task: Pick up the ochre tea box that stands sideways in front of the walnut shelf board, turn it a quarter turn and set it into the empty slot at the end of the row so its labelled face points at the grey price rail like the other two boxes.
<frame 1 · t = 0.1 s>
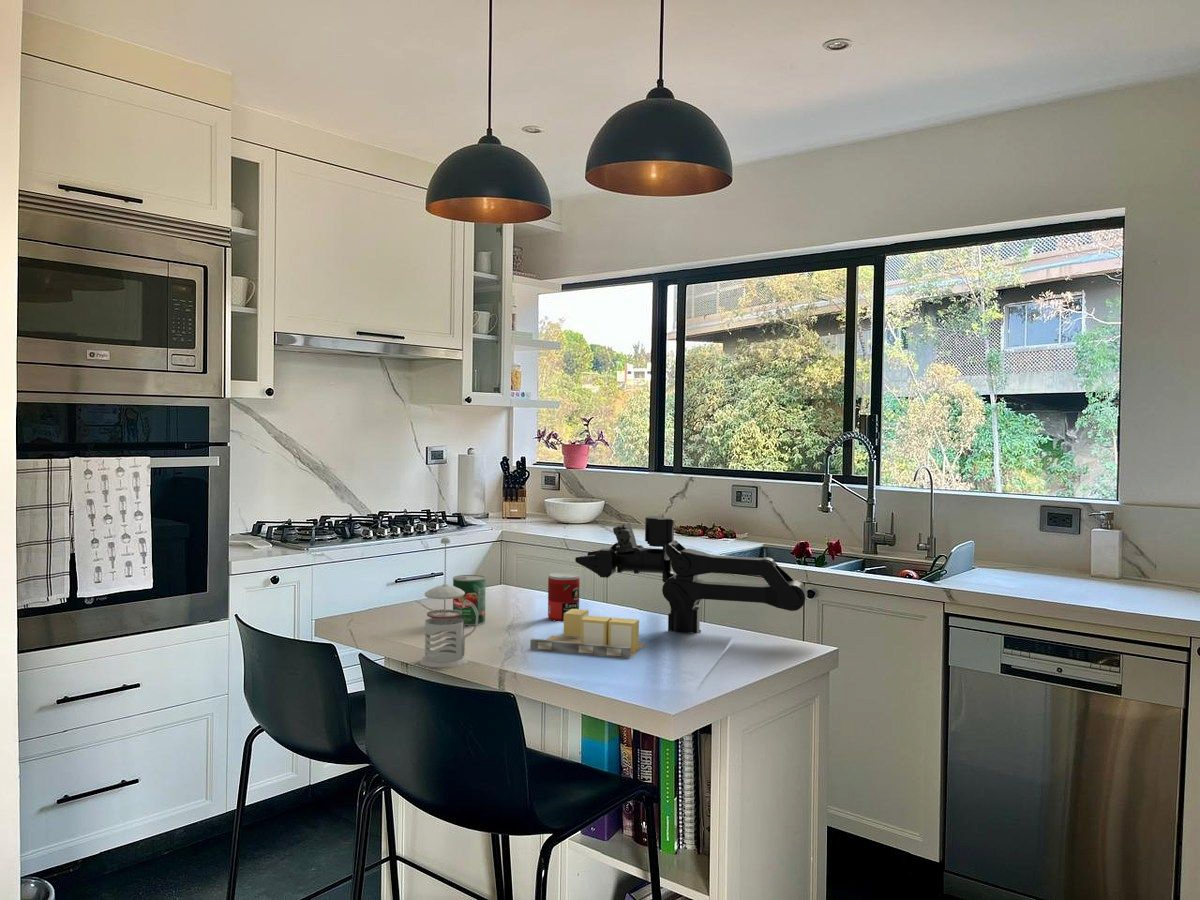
hand: (581, 556, 212), 17 cm above the table, tool horizontal, fingers open, 9 cm apart
french press: (448, 662, 178), on the table
shelf board: (588, 651, 188), on the table
canned tomato: (468, 623, 214), on the table
canned food: (563, 619, 220), on the table
tea box a: (623, 648, 186), point 1 cm above the table, touching shelf board
tea box b: (596, 646, 188), point 1 cm above the table, touching shelf board
tea box turned: (575, 638, 200), on the table
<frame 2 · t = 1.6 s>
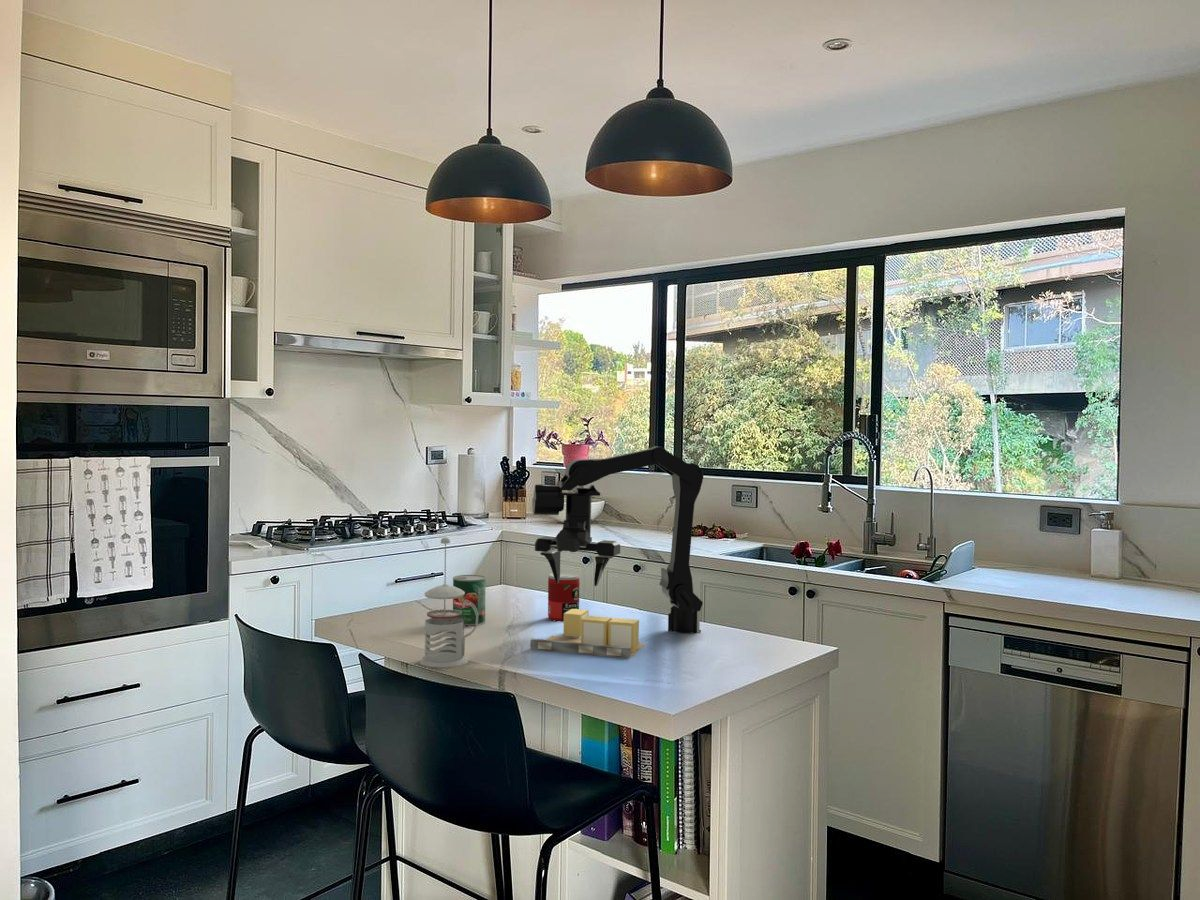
hand: (576, 584, 200), 12 cm above the table, tool pointing down, fingers open, 9 cm apart
nothing on the table moved.
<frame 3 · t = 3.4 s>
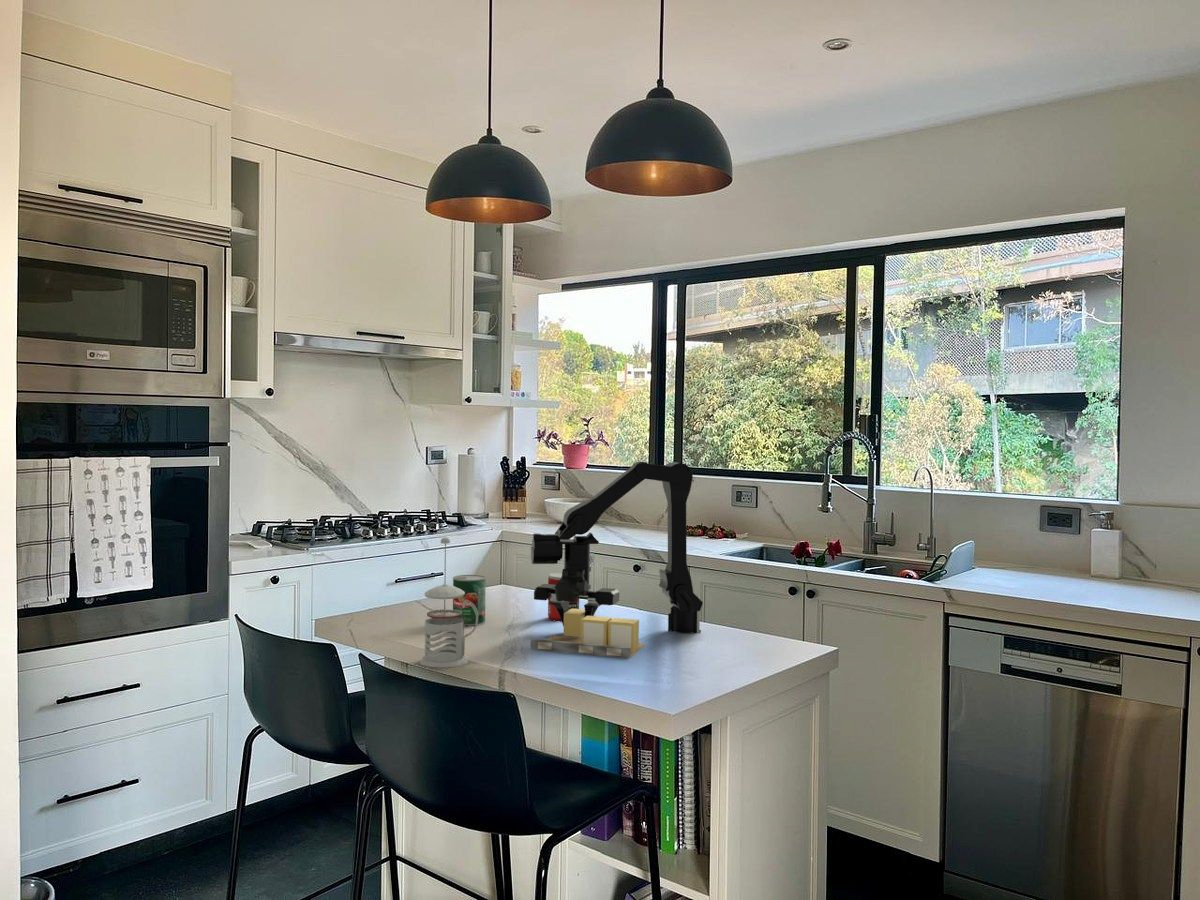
hand: (576, 632, 200), 1 cm above the table, tool pointing down, fingers closed on tea box turned, 4 cm apart
tea box turned: (576, 637, 200), on the table, touching gripper
everything else where it was.
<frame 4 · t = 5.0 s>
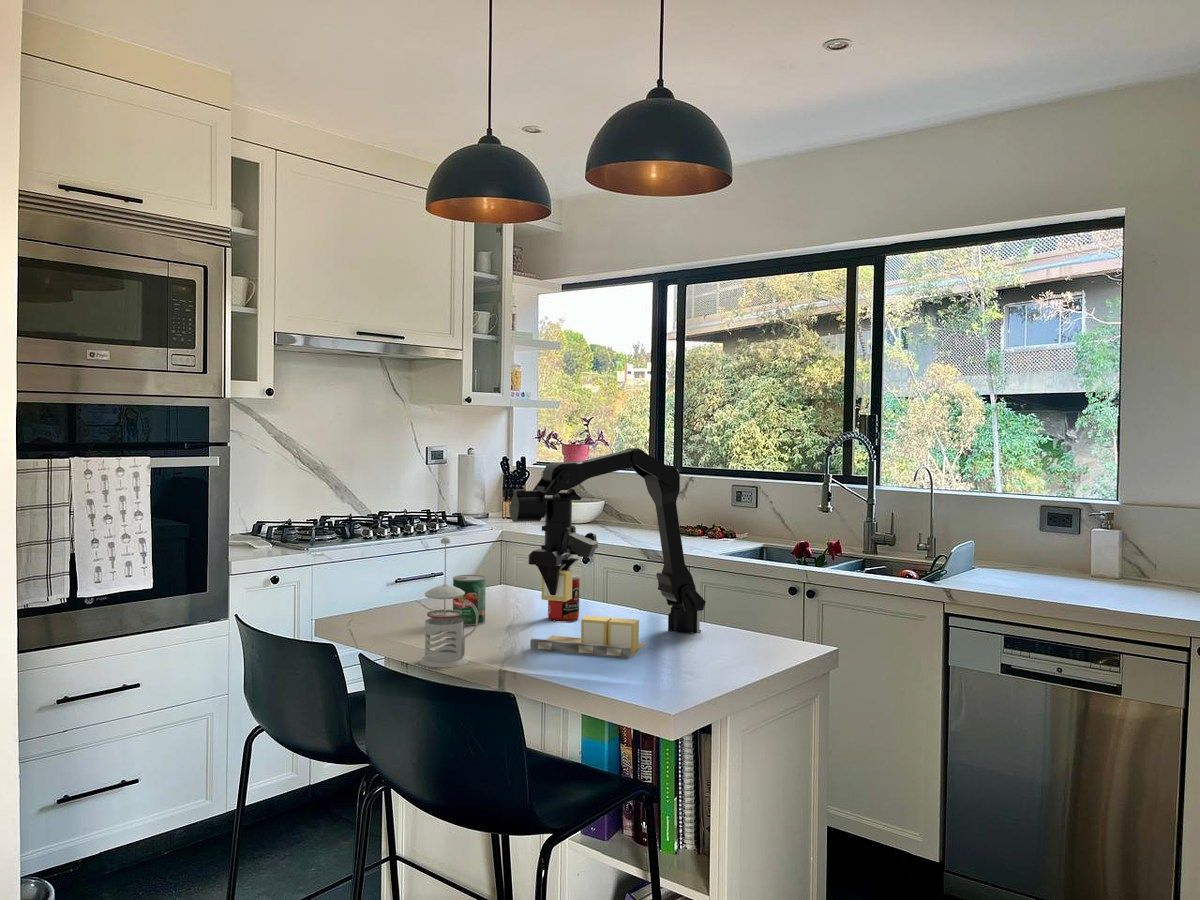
hand: (556, 593, 191), 12 cm above the table, tool pointing down, fingers closed on tea box turned, 4 cm apart
tea box turned: (556, 599, 191), point 10 cm above the table, touching gripper
everything else where it was.
when the fingers open (4 cm above the table, at t = 6.6 s): tea box turned drops 2 cm, resting on shelf board.
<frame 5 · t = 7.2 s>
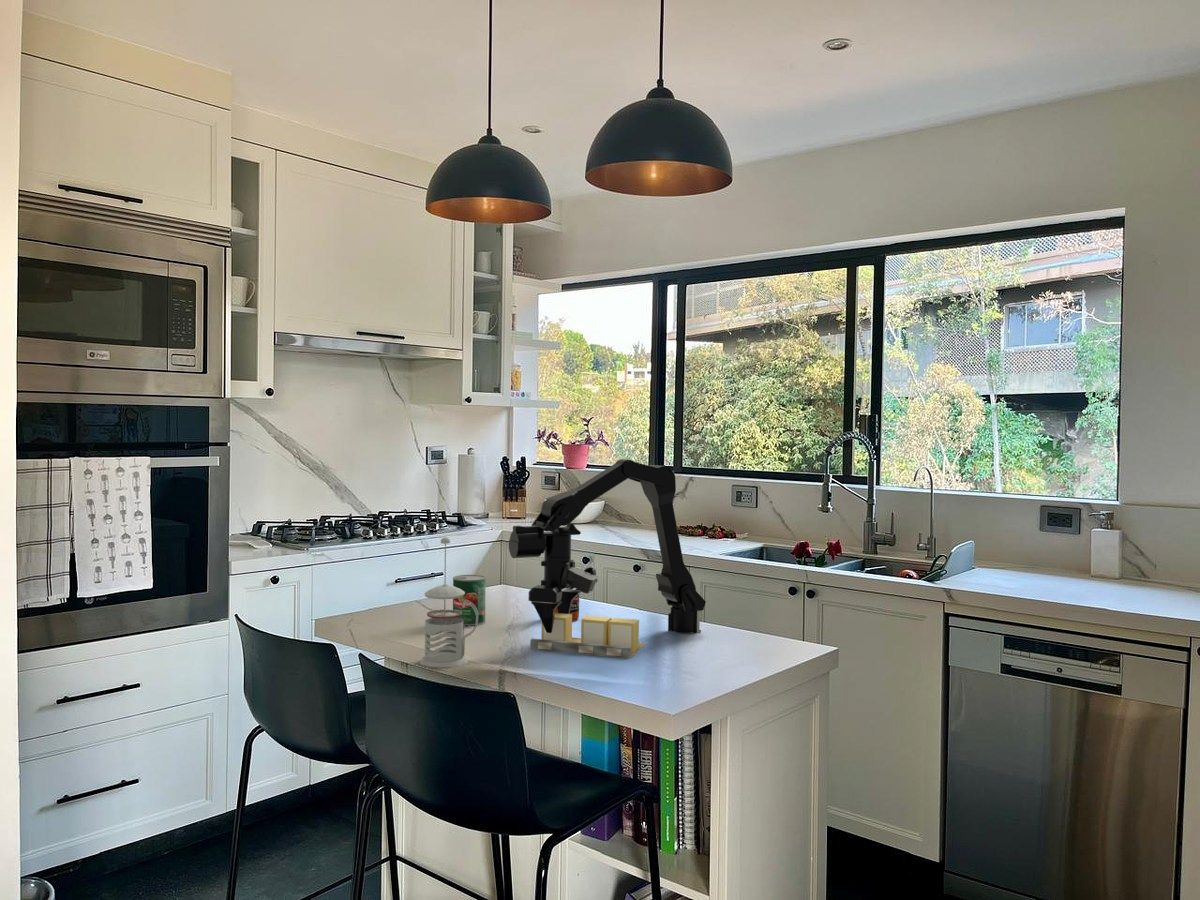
hand: (556, 628, 191), 4 cm above the table, tool pointing down, fingers open, 9 cm apart
tea box turned: (556, 642, 191), point 1 cm above the table, touching shelf board
everything else where it was.
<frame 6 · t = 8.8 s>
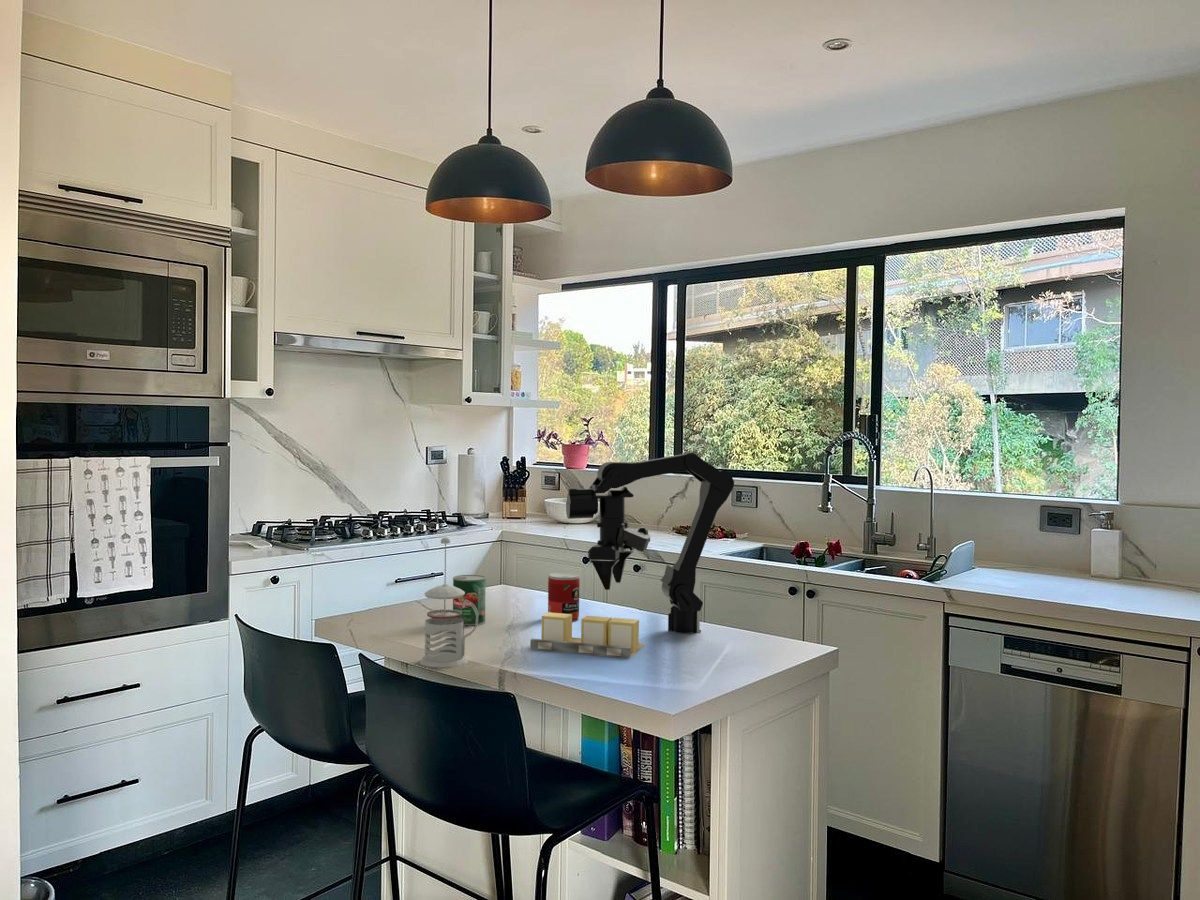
hand: (613, 586, 201), 12 cm above the table, tool pointing down, fingers open, 9 cm apart
nothing on the table moved.
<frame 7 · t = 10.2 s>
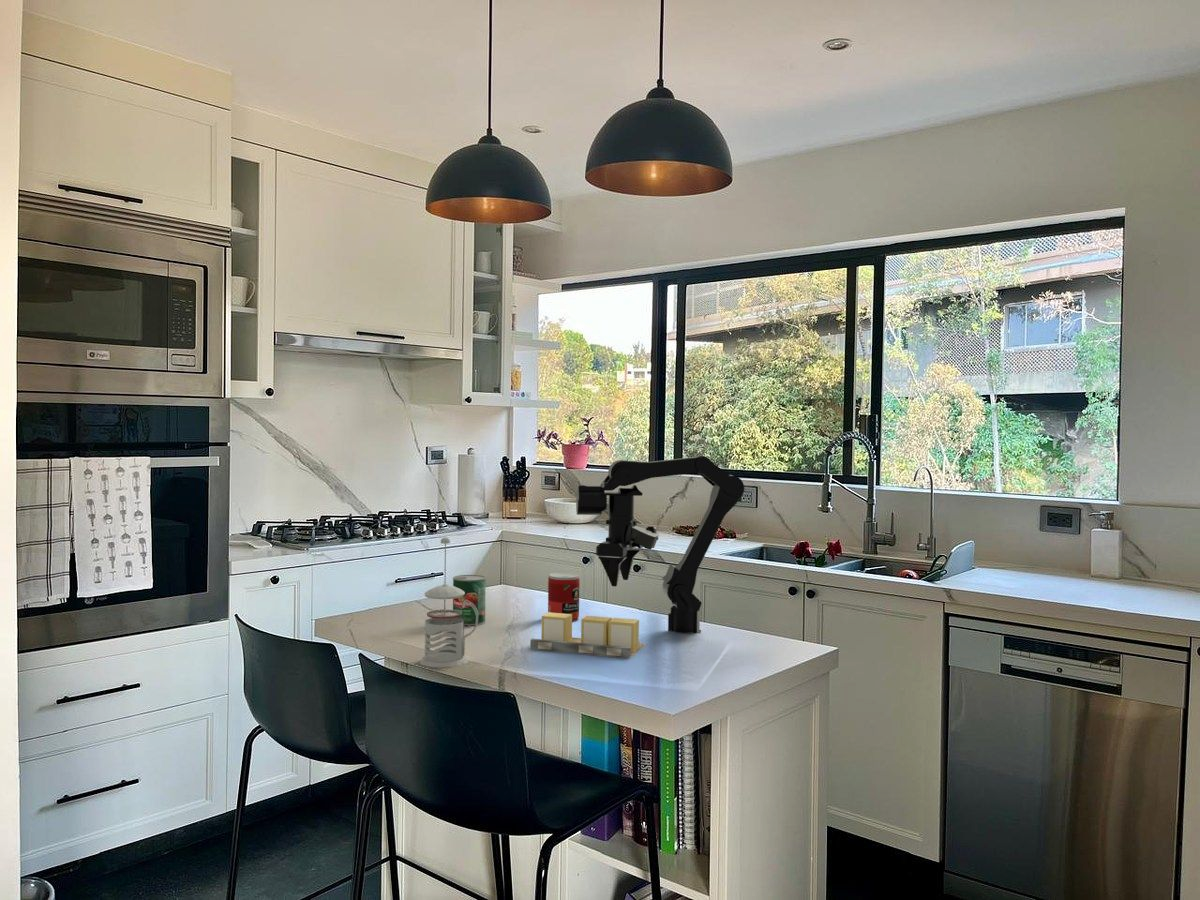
hand: (620, 583, 203), 12 cm above the table, tool pointing down, fingers open, 9 cm apart
nothing on the table moved.
at the end: tea box turned 0.1 cm from the target spot, point 1.0 cm above the table; tea box turned tilted 0°; the gripper is holding nothing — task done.
